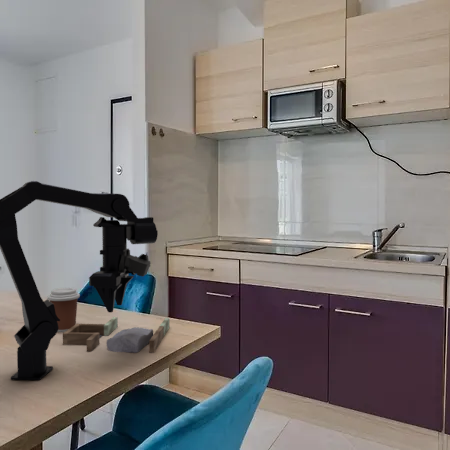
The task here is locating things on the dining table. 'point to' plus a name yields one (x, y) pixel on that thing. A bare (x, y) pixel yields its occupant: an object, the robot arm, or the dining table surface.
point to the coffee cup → (65, 307)
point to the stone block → (130, 340)
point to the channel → (106, 334)
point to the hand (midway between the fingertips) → (115, 308)
